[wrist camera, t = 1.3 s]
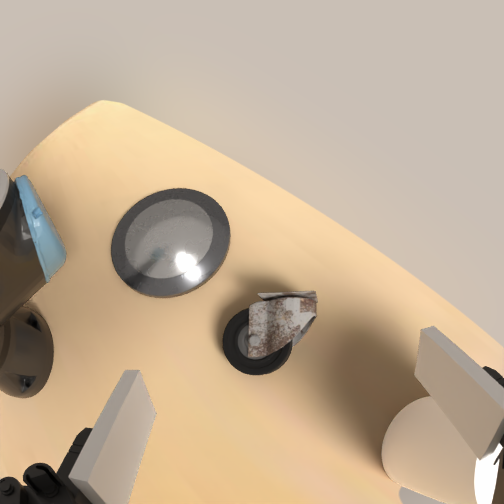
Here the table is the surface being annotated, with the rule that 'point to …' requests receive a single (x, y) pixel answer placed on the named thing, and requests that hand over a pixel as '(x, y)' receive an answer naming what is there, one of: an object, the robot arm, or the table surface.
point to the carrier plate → (171, 243)
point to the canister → (436, 457)
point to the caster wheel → (268, 331)
